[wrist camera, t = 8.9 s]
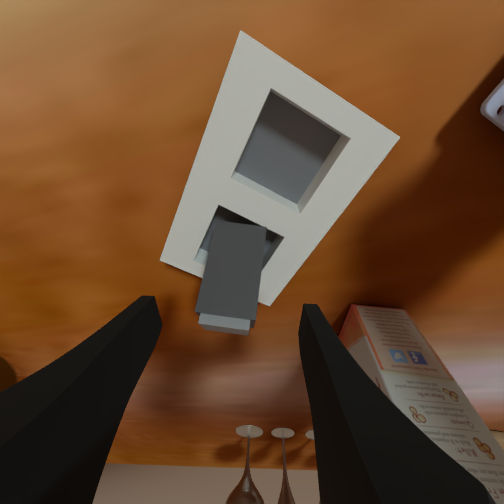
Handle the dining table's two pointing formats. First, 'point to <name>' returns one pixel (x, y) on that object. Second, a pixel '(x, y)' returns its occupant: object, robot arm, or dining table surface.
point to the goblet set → (245, 493)
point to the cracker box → (423, 389)
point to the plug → (232, 278)
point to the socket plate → (274, 165)
